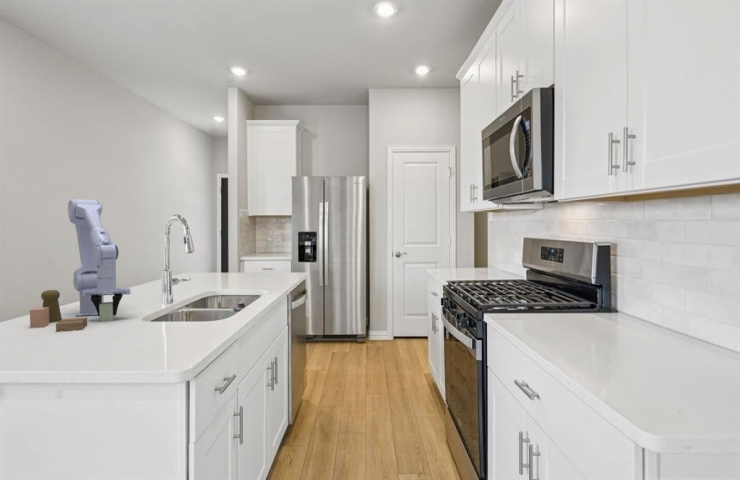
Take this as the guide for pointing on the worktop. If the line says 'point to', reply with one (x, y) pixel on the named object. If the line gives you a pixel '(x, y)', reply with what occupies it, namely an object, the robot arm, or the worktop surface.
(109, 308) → the sage block
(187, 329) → the worktop surface
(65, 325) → the walnut board
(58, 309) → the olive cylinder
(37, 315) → the terracotta block
